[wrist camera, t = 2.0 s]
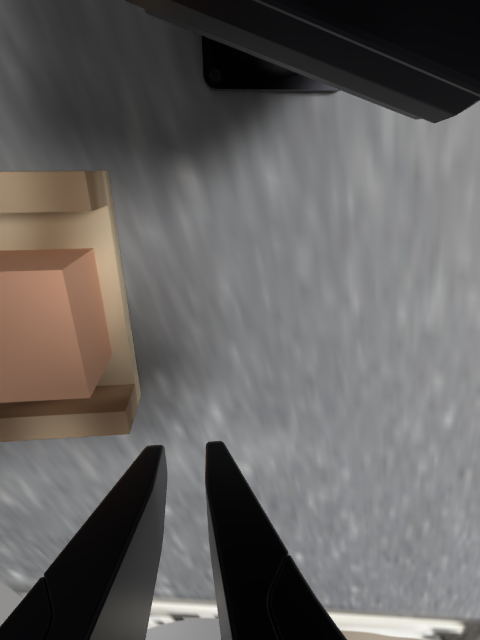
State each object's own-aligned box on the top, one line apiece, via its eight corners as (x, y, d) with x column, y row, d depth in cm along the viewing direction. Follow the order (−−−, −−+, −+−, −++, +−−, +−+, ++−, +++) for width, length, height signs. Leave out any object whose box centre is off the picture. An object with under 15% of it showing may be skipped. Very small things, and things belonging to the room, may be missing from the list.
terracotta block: (93, 248, 17) (61, 269, 14) (112, 354, 20) (89, 397, 16) (-14, 250, 17) (-75, 273, 13) (19, 359, 19) (-26, 404, 16)
